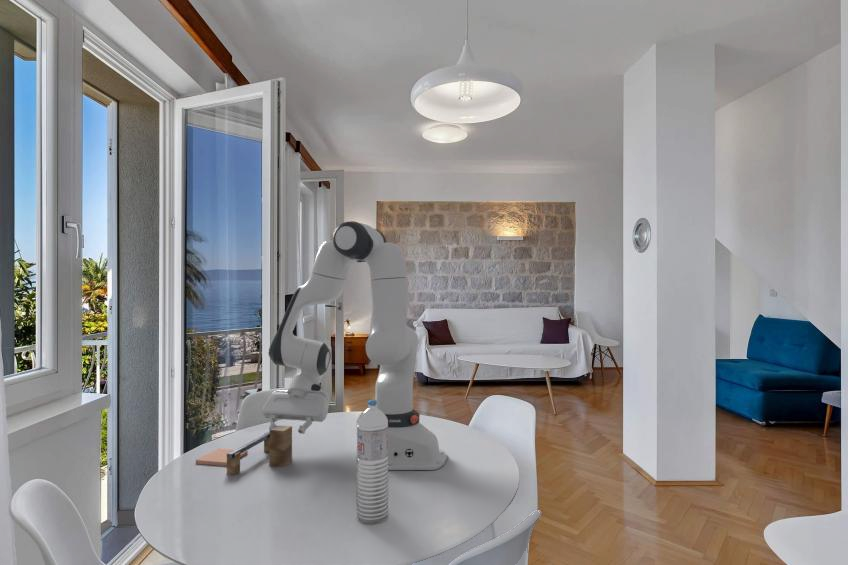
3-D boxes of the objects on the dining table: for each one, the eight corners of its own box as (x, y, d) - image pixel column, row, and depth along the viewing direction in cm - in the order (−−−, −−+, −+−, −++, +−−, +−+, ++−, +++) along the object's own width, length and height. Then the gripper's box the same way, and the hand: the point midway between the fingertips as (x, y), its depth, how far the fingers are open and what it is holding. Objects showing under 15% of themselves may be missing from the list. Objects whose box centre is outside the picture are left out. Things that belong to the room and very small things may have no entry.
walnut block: (291, 461, 130) (292, 426, 130) (283, 466, 125) (284, 430, 126) (277, 459, 131) (278, 425, 131) (269, 465, 126) (269, 430, 127)
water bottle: (386, 525, 93) (386, 404, 93) (353, 525, 93) (353, 404, 94) (389, 509, 99) (389, 397, 100) (359, 509, 100) (359, 397, 100)
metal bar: (273, 434, 140) (274, 431, 140) (232, 458, 120) (232, 454, 120) (270, 434, 140) (270, 430, 140) (228, 458, 120) (228, 453, 120)
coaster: (247, 453, 136) (247, 450, 136) (226, 466, 126) (226, 462, 126) (218, 451, 138) (218, 448, 138) (195, 463, 128) (195, 460, 128)
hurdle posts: (275, 449, 140) (275, 432, 140) (235, 475, 120) (235, 454, 120) (267, 449, 140) (267, 431, 140) (226, 474, 120) (226, 453, 120)
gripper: (269, 384, 142) (250, 423, 132) (329, 387, 137) (314, 428, 127) (276, 395, 146) (258, 434, 136) (334, 398, 141) (321, 439, 132)
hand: (286, 431), depth 132 cm, fingers open, 8 cm apart
